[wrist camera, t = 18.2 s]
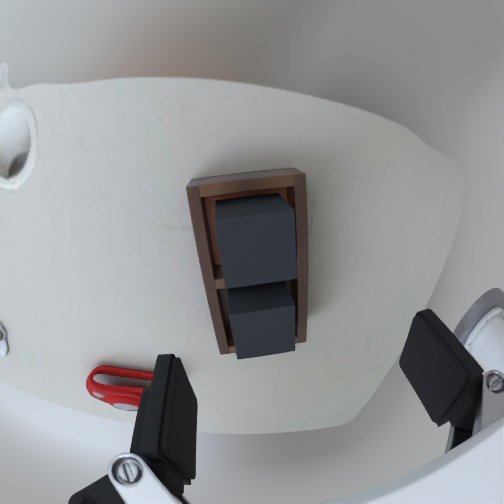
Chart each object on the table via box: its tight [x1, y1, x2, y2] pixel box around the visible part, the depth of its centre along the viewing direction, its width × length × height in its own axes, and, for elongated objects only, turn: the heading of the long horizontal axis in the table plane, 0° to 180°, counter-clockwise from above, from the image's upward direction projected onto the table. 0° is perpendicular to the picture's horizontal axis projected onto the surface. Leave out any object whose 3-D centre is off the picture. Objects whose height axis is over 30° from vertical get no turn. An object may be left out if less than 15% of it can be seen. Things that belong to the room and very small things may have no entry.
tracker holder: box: [86, 366, 153, 411], centre depth 28 cm, size 12×4×10 cm
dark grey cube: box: [227, 281, 295, 359], centre depth 23 cm, size 5×5×5 cm
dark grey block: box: [214, 193, 297, 289], centre depth 20 cm, size 5×5×5 cm
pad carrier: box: [186, 168, 308, 354], centre depth 23 cm, size 8×16×3 cm, turn 6°
